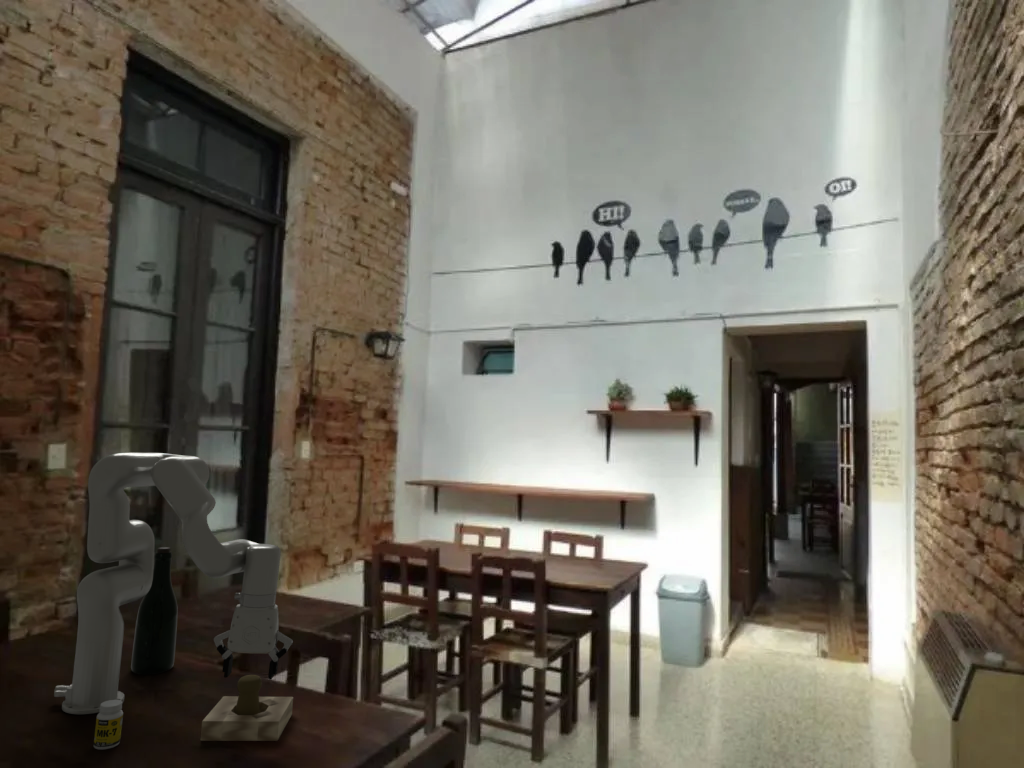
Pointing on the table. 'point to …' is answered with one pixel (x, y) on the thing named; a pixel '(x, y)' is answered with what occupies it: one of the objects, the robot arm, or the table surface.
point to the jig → (247, 720)
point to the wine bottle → (156, 621)
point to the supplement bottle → (108, 725)
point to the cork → (248, 695)
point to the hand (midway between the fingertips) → (249, 676)
